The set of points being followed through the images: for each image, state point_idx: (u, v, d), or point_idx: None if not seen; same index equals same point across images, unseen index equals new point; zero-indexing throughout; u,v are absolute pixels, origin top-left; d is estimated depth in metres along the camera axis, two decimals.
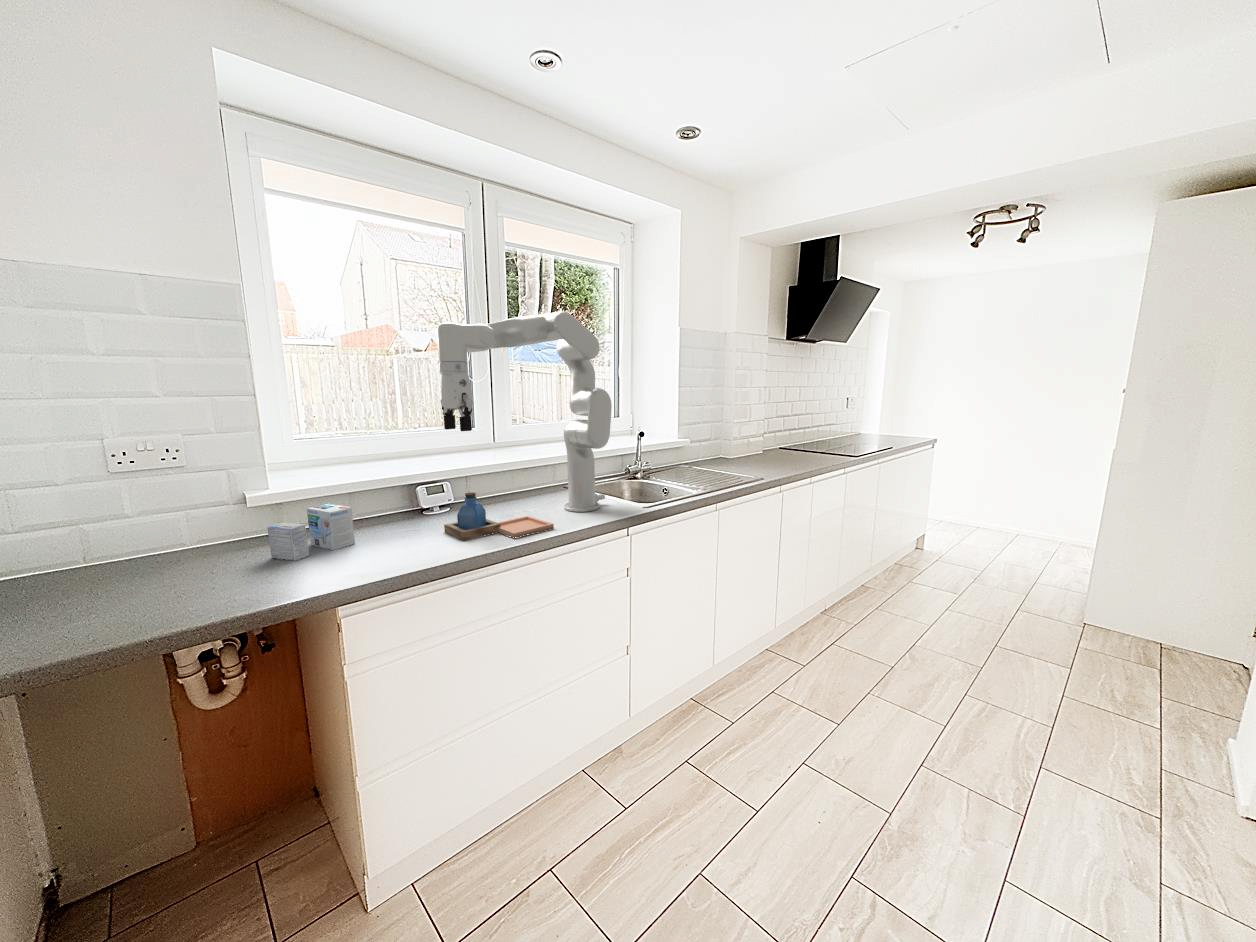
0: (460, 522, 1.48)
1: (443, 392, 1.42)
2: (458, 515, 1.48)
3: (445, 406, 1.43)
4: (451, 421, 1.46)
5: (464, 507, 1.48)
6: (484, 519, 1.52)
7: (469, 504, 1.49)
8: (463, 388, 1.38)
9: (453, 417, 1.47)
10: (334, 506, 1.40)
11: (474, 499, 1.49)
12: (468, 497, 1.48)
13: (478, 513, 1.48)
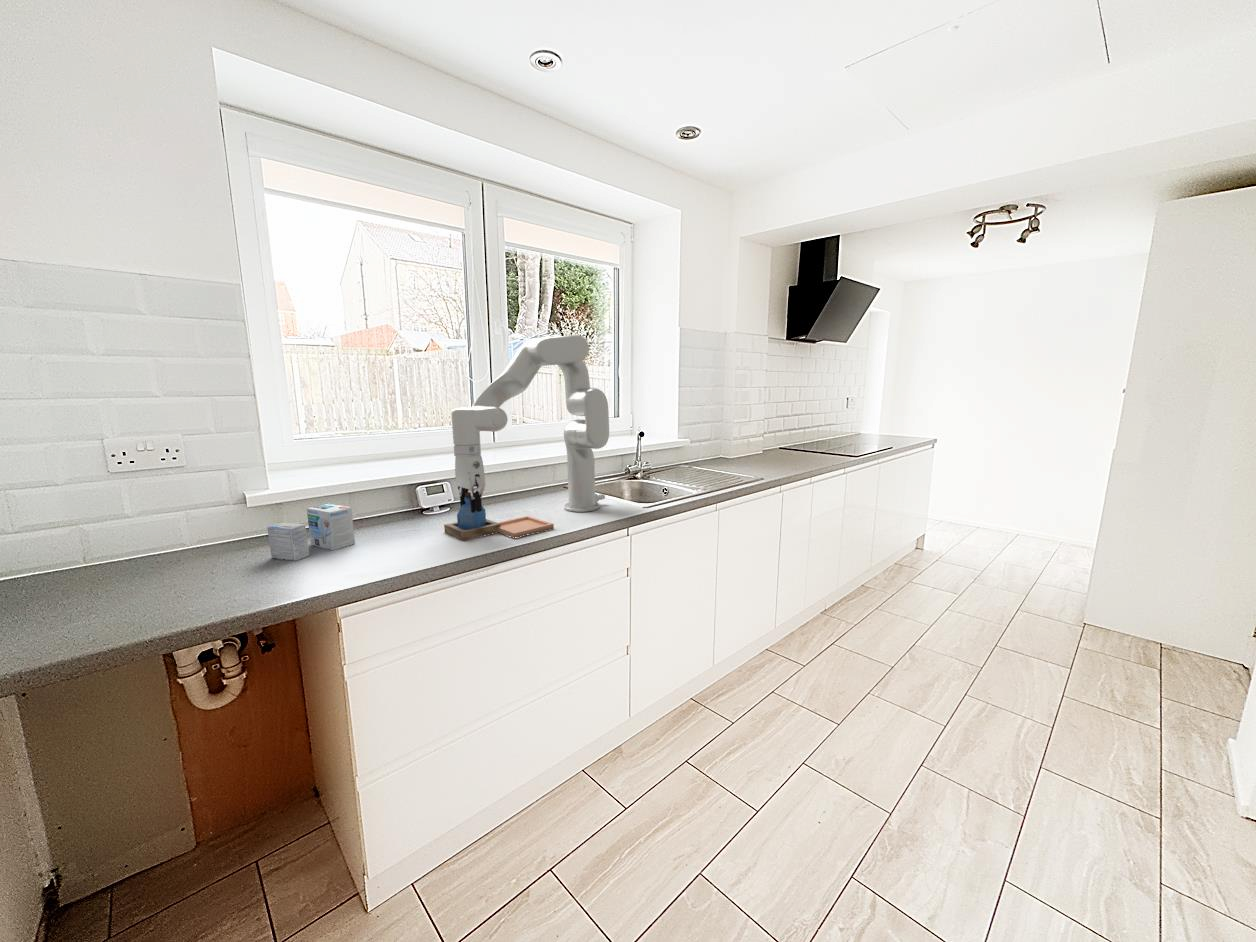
0: (460, 521, 1.48)
1: (457, 471, 1.48)
2: (458, 515, 1.48)
3: (459, 484, 1.49)
4: None
5: (464, 507, 1.48)
6: (483, 519, 1.52)
7: (469, 504, 1.49)
8: (476, 470, 1.45)
9: None
10: (334, 506, 1.40)
11: None
12: (468, 497, 1.48)
13: (478, 513, 1.48)
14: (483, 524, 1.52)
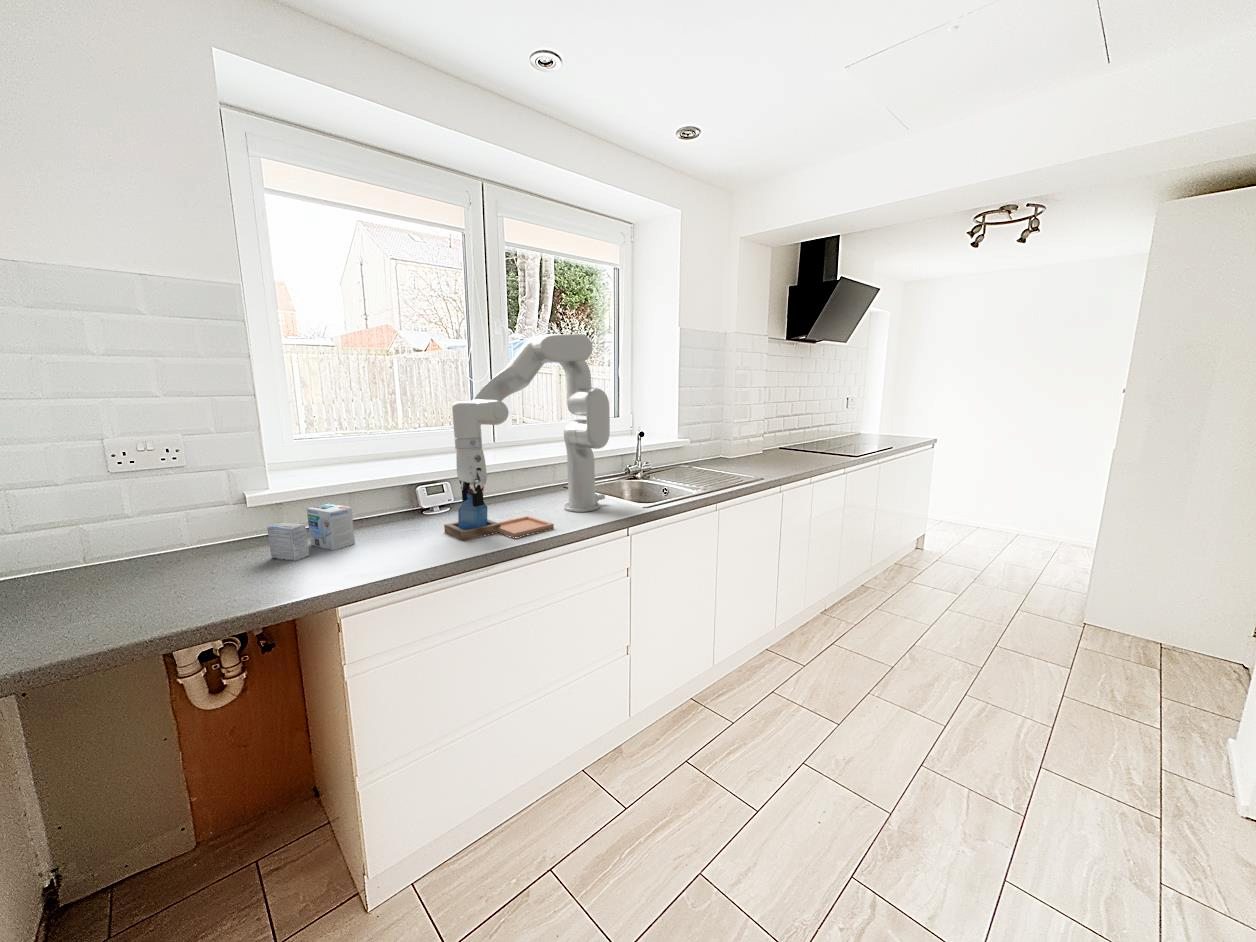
0: (460, 517, 1.48)
1: (458, 465, 1.48)
2: (459, 510, 1.47)
3: (460, 478, 1.49)
4: None
5: (466, 503, 1.48)
6: (485, 516, 1.52)
7: (471, 500, 1.48)
8: (478, 463, 1.44)
9: None
10: (334, 506, 1.40)
11: None
12: (471, 494, 1.48)
13: (479, 511, 1.48)
14: (484, 521, 1.51)
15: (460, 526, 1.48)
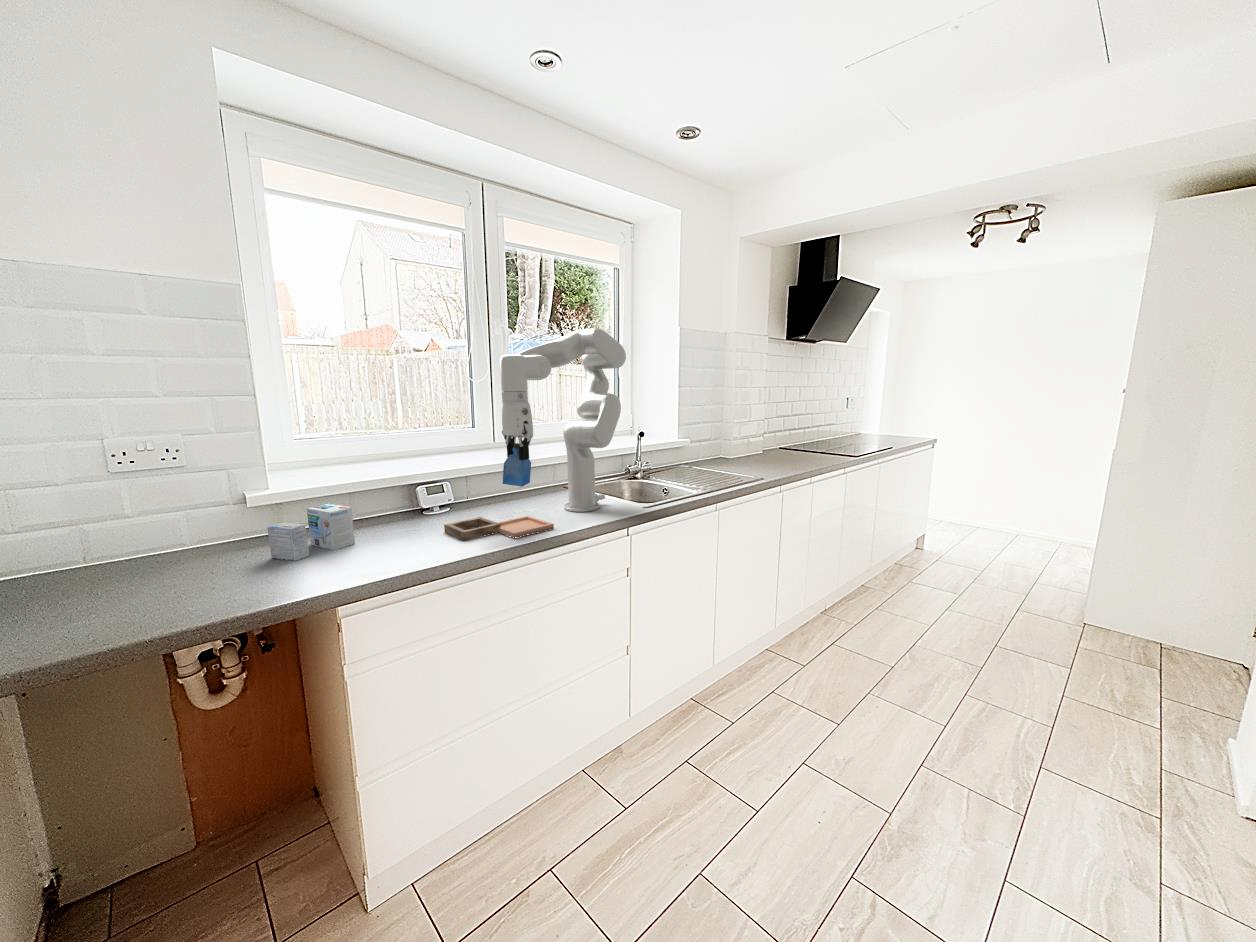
0: (505, 470, 1.49)
1: (504, 419, 1.49)
2: (505, 464, 1.48)
3: (506, 433, 1.50)
4: None
5: (511, 456, 1.49)
6: (528, 472, 1.52)
7: (516, 454, 1.49)
8: (525, 416, 1.45)
9: None
10: (334, 506, 1.40)
11: None
12: (517, 448, 1.49)
13: (525, 465, 1.49)
14: (527, 476, 1.52)
15: (504, 479, 1.49)
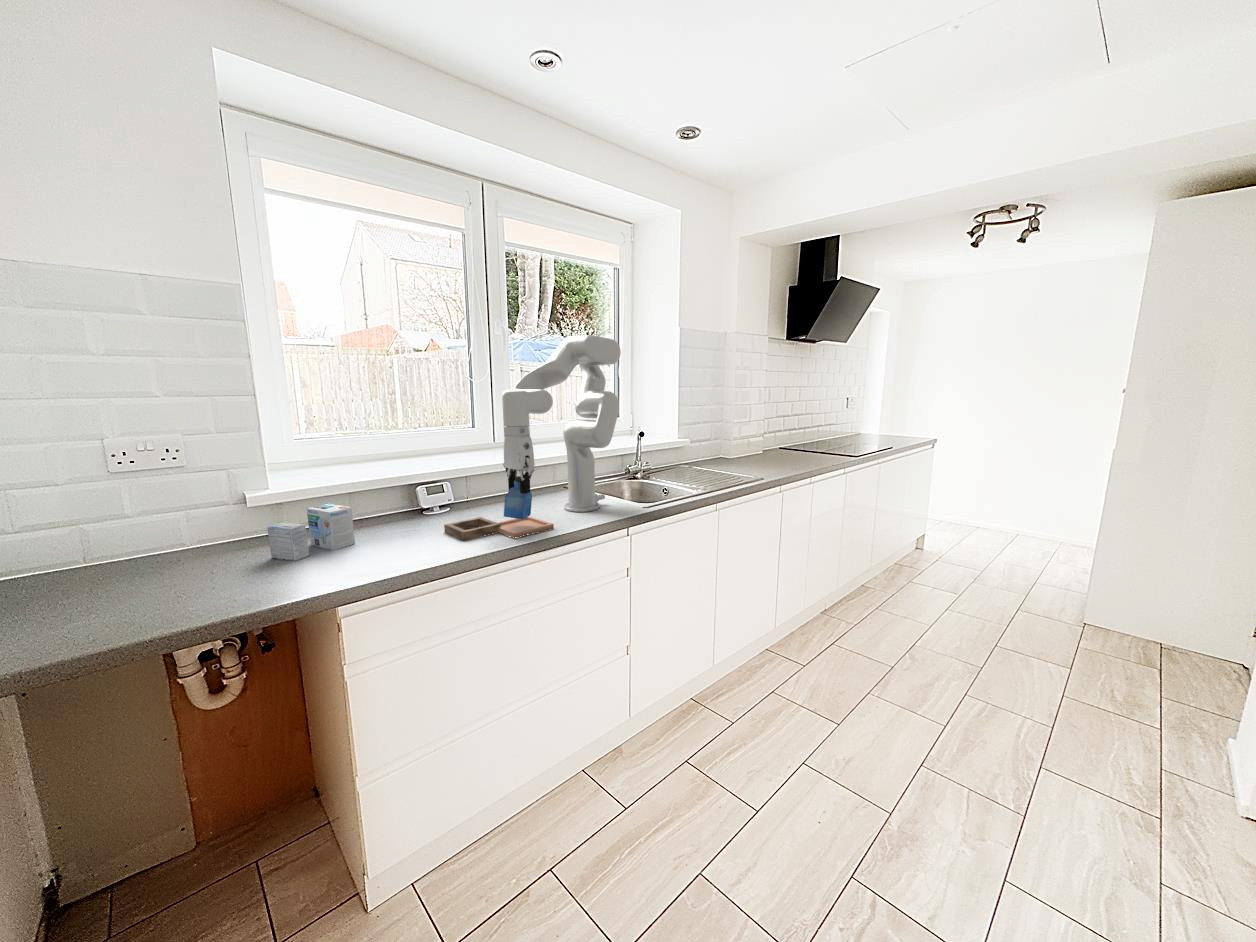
0: (506, 503, 1.50)
1: (506, 453, 1.50)
2: (506, 497, 1.50)
3: (507, 466, 1.51)
4: None
5: (513, 490, 1.50)
6: (529, 504, 1.54)
7: (518, 487, 1.50)
8: (526, 451, 1.47)
9: None
10: (334, 506, 1.40)
11: None
12: (518, 481, 1.50)
13: (526, 498, 1.50)
14: (528, 509, 1.54)
15: (505, 512, 1.51)
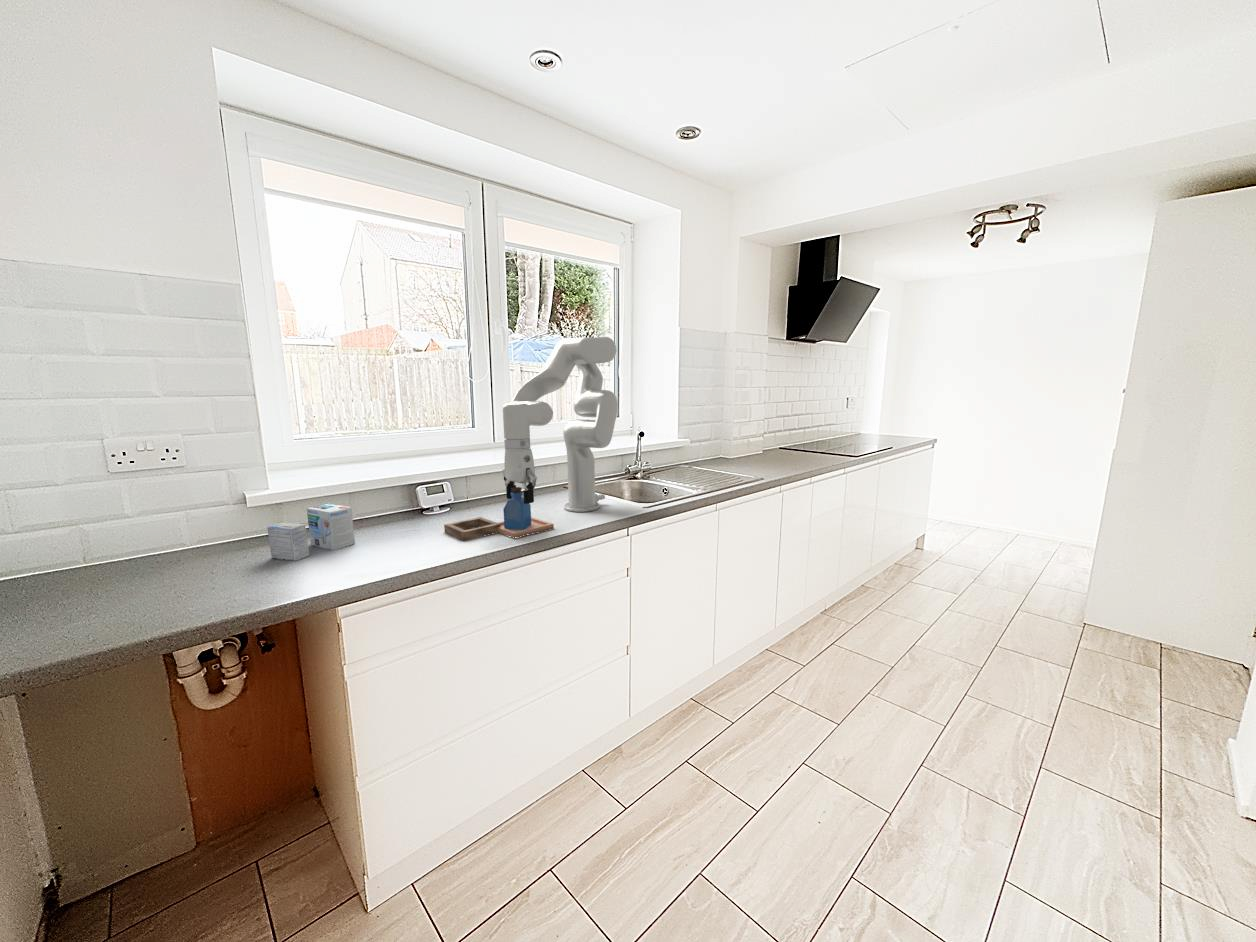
0: (506, 516, 1.51)
1: (507, 465, 1.51)
2: (504, 509, 1.51)
3: (508, 478, 1.52)
4: None
5: (510, 501, 1.51)
6: (529, 514, 1.55)
7: (515, 498, 1.51)
8: (527, 463, 1.47)
9: None
10: (334, 506, 1.40)
11: (520, 494, 1.51)
12: (514, 492, 1.51)
13: (524, 508, 1.51)
14: (528, 519, 1.54)
15: (506, 525, 1.51)
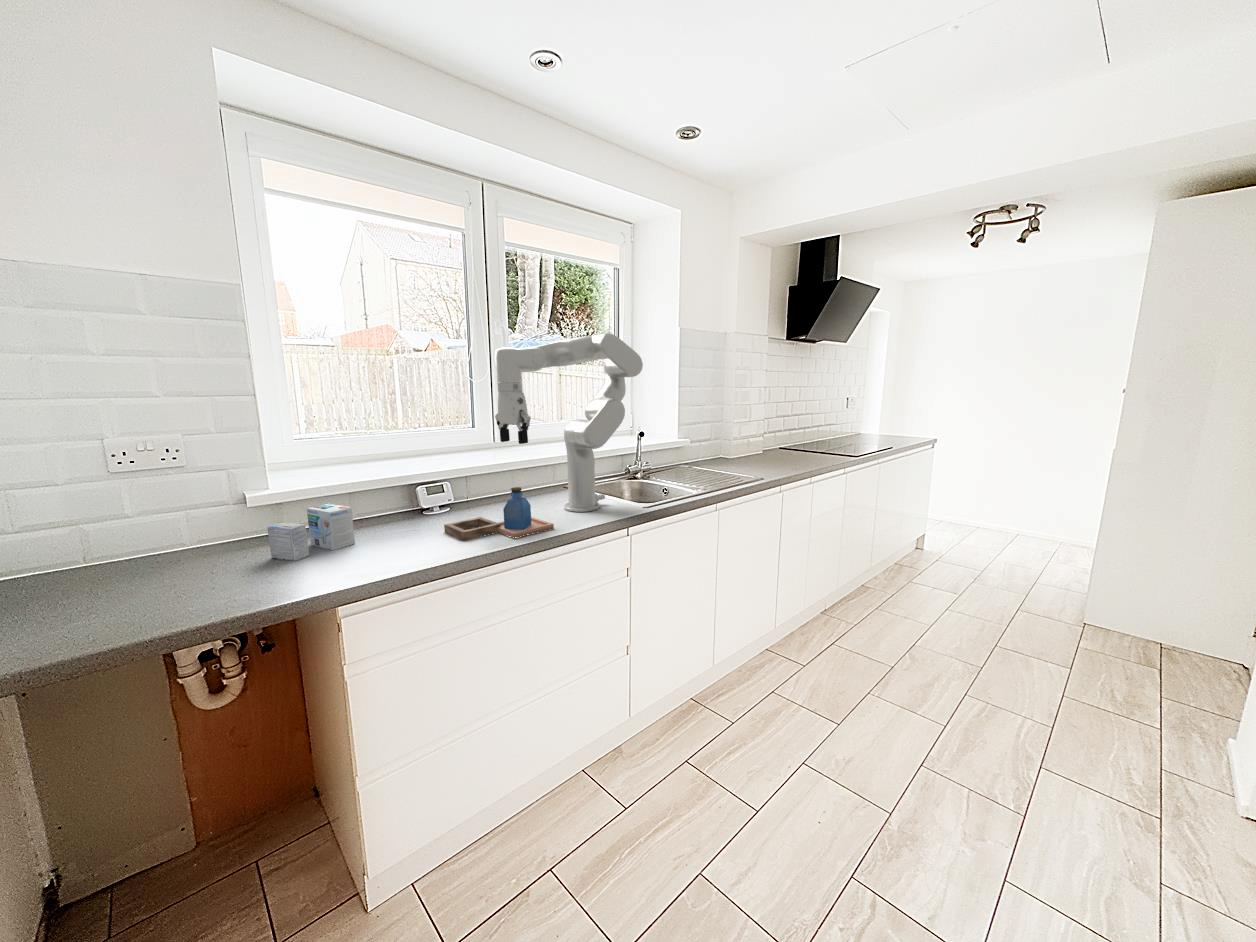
0: (506, 516, 1.51)
1: (500, 409, 1.59)
2: (504, 509, 1.51)
3: (502, 421, 1.60)
4: (506, 434, 1.63)
5: (510, 501, 1.51)
6: (529, 514, 1.55)
7: (515, 498, 1.51)
8: (520, 405, 1.55)
9: (507, 431, 1.64)
10: (334, 506, 1.40)
11: (520, 494, 1.51)
12: (514, 492, 1.51)
13: (524, 508, 1.51)
14: (528, 519, 1.54)
15: (506, 525, 1.51)
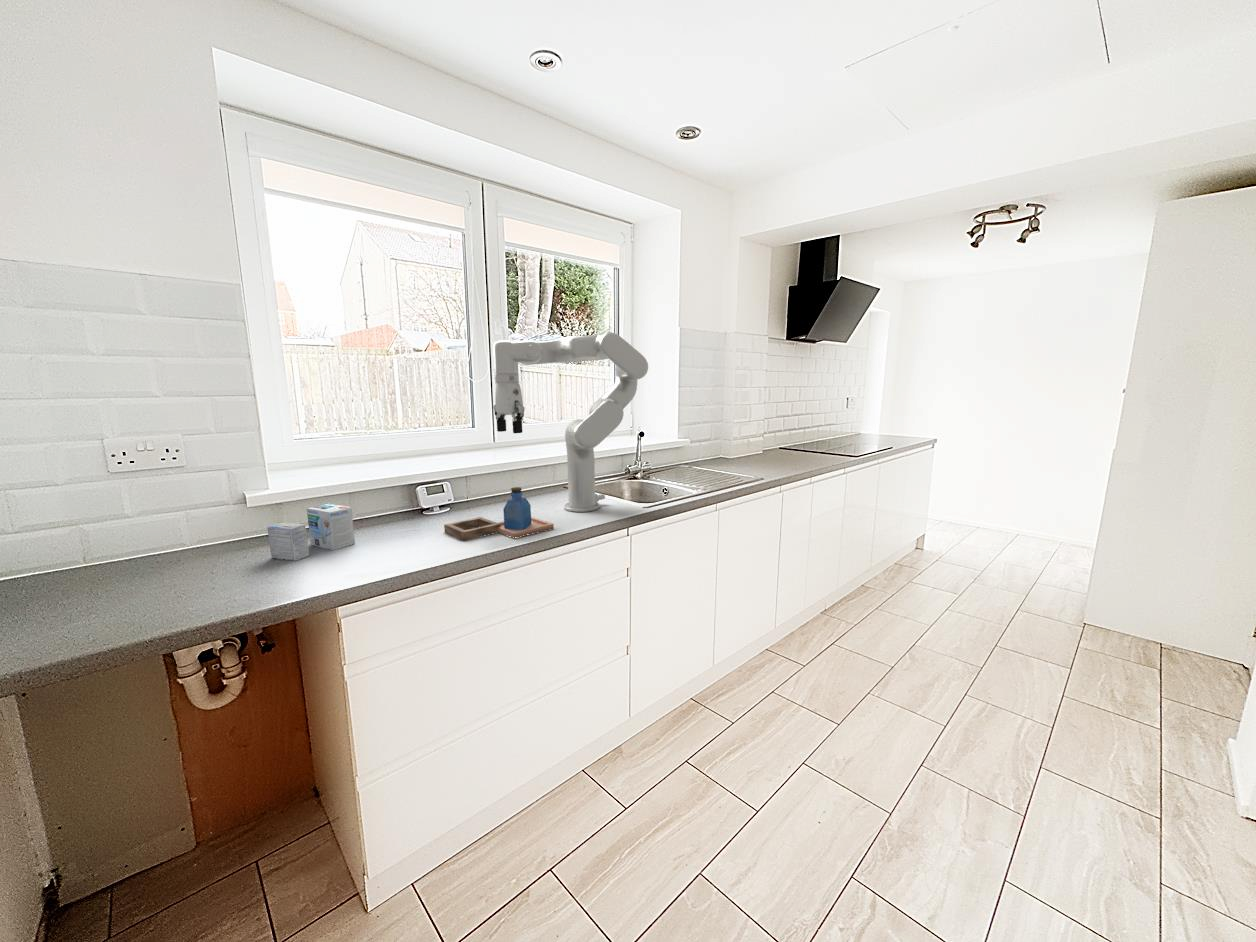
0: (506, 516, 1.51)
1: (497, 400, 1.65)
2: (504, 509, 1.51)
3: (499, 412, 1.66)
4: (503, 424, 1.70)
5: (510, 501, 1.51)
6: (529, 514, 1.55)
7: (515, 498, 1.51)
8: (516, 396, 1.61)
9: (504, 421, 1.70)
10: (334, 506, 1.40)
11: (520, 494, 1.51)
12: (514, 492, 1.51)
13: (524, 508, 1.51)
14: (528, 519, 1.54)
15: (506, 525, 1.51)
